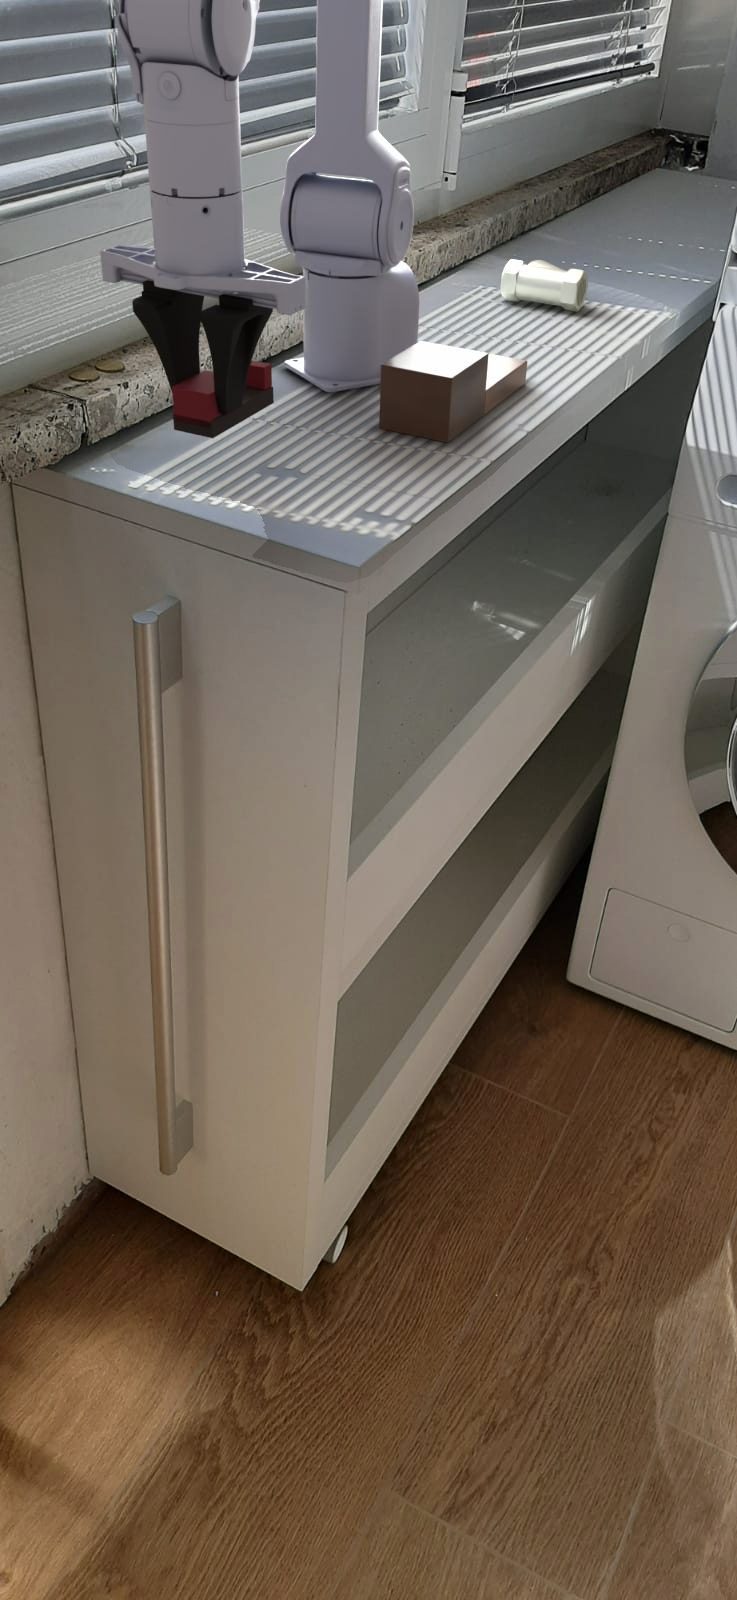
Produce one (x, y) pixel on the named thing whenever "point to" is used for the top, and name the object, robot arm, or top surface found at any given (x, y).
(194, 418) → the red blocks on slab
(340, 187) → the robot arm
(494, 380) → the copper l-shaped step block
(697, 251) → the top surface
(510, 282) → the pipe fitting
